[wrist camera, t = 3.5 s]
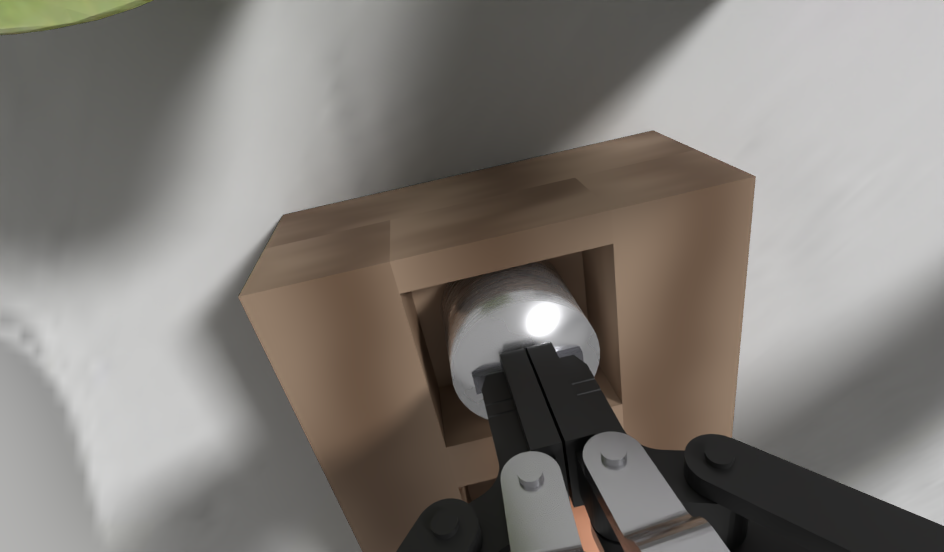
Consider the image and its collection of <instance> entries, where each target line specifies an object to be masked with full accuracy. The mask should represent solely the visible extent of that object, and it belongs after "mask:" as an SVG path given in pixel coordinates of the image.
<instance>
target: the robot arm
mask: <svg viewBox="0 0 944 552" xmlns="http://www.w3.org/2000/svg"><path fill="white" fill-rule="evenodd" d="M499 357H500V363H501V368H502V372H500V373H496V374H492V375H488V376H486V377H485V380H484V383H483V387H482V395H483V399H484V403H485V408H486V412H487V416H488V421H489V425H490V429H491V433H492V438H493V442H494V446H495V450H496V454H497V458H498V462H499V472H498V476H497V478H496V481H495V482H494V484H493V485H492V486H491V488H490V489H489V490H488V491H487V492H486V493H484V494H483V495H481V496H480V497H478V498H477V499H475V500H473V501H472V502H470V503H467V502H465V501H463V500H460V499H454V498H447V499H442V500H439V501H437V502H435V503H433V504H431V505H430V506H428V507H427V508H426V509H425V510H424V511H423V512H422V513H421V515H420V516H419V518H418V519H417V521H416V522H415V524H414V525H413V527H412V528H411V530H410V531H409V533H408V534H407V536H406V537H405V539H404V540H403V542H402V543H401V545H400V546H399V548H398V549H397V551H396V552H585V551H583V548H582V545H581V541H580V537H579V534H578V530H577V527H576V523H575V519H574V516H573V512H572V509H571V505H570V499H571V501H572V504H573V507H574V508H575V507H579V506H583V505H584V506H585V508H586V511H587V514H588V516H589V519H590V526H591V533H592V536H593V539H594V541H595V543H596V545H597V547H598V549H599V551H600V552H944V526H942V525H940V524H938V523H935V522H933V521H930V520H928V519H926V518H923V517H921V516H918V515H916V514H913V513H911V512H909V511H906V510H904V509H901V508H899V507H897V506H894V505H892V504H889V503H887V502H885V501H882V500H880V499H877V498H875V497H872V496H870V495H868V494H865V493H863V492H860V491H858V490H856V489H853V488H851V487H848V486H846V485H844V484H841V483H839V482H836V481H834V480H831V479H829V478H827V477H824V476H822V475H819V474H817V473H815V472H812V471H810V470H807V469H805V468H803V467H800V466H798V465H795V464H793V463H791V462H788V461H786V460H783V459H781V458H778V457H776V456H774V455H771V454H769V453H766V452H764V451H762V450H759V449H757V448H754V447H752V446H750V445H747V444H745V443H742V442H740V441H737V440H735V439H733V438H730V437H727V436H724V435H719V434H705V435H700V436H697V437H695V438H693V439H692V440H691V441H690V442H689V443H688V444H687V446H686V448H685V450H660V449H653V448H649V447H646V446H643V445H641V444H640V443H639V442H638V441H637V440H636V439H634V438H633V437H631V436H629V435H627V434H626V432H625V431H624V429H623V428H622V426H621V424H620V422H619V420H618V419H617V417H616V415H615V413H614V412H613V410H612V408H611V406H610V404H609V403H608V401H607V399H606V397H605V395H604V394H603V392H602V391H601V389H600V386H599V385H598V383H597V381H596V380H595V378H594V376H593V374H592V372H591V370H590V369H589V367H588V365H587V364H586V363H585V362H583V361H582V360H580V359H579V358H578V357H576V356H575V355H570V356H565V357H561V358H559V356H558V354H557V352H556V350H555V348H554V346H553V344H552V343H551V342H546V343H542V344H538V345H534V346H529V347H526V351H525V349H524V348H522V349H518V350H513V351H509V352H505V353H501V354H499ZM569 496H570V498H569Z"/></svg>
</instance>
